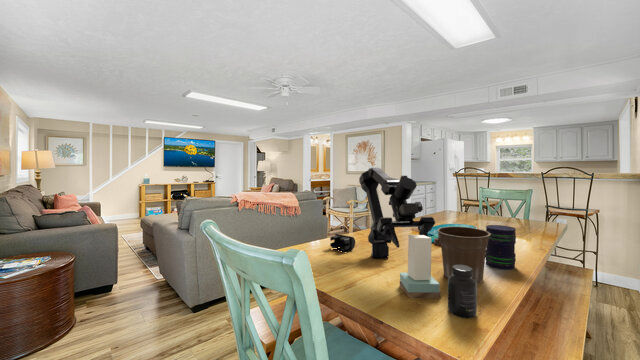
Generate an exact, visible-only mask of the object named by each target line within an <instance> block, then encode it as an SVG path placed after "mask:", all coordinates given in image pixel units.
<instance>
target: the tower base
mask: <svg viewBox="0 0 640 360" xmlns="http://www.w3.org/2000/svg"><path fill="white" fill-rule="evenodd" d="M399 287H400V288H401V290H402V291H403V292H404V293H405V294H406V295H407V296H408V297H409V299H410V300H417V299H421V300H422V299H440V298H442V297H441V296H442V292H441V290H439V293H437V292H408V291H407V290H406V288H405V287H404V285H403V284H402V282H401V281H400V280H399Z"/></svg>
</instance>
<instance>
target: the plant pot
mask: <svg viewBox="0 0 640 360" xmlns="http://www.w3.org/2000/svg"><path fill="white" fill-rule="evenodd" d="M436 232H437V234H438V233H439V237H440V242H441V245H440V246H441V259H442V269H443V270H442V271H443V275H444V277H445V278H447V279H448V278H449V277H450V276H451V275H453V274H452V266H453V265H466V266H469V267H471V268H472V269H473V277H472V278H474V279H475V280H476V282H477V284H480V283H482V282H483V280H484V273H485V265H486V258H485V255H486V247H487V246H488V239H489V237H490V233H489V232H487V231H486V230H484V229H480V228H473V227H467V226H444V227H439V228H437V231H436Z"/></svg>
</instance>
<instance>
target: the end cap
mask: <svg viewBox="0 0 640 360" xmlns="http://www.w3.org/2000/svg"><path fill="white" fill-rule="evenodd" d="M329 240H330V241H332V242H331V243H330V245H329V247H330V248H337V249H335V250H339V251H342V252H341V253H343V252H347V253H349V252H348V251H350V252H352V251H353V250H354V249H355V247H356V246H355V245H356V239H355V237H354V236H351V235H345V234H339V233H335V234H334V235H333V236H330V239H329ZM338 247H340V248H338ZM335 250H334V251H335ZM351 250H352V251H351ZM339 251H338V252H339Z"/></svg>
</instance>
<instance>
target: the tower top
mask: <svg viewBox="0 0 640 360" xmlns="http://www.w3.org/2000/svg"><path fill="white" fill-rule="evenodd" d="M399 273H400V274H399V282H400V281H401V282H402V284H403V285H404V287H405V288H406V290H407V291H408V292H437V293H439V291H440V283H439V281H437V280H436V279H435V278H434V277H433V276H432V275H431V280H414V279H412V278H411V277H410V276H408V272H399Z"/></svg>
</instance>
